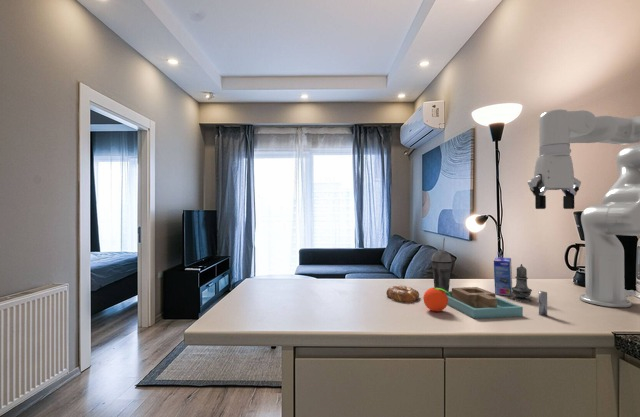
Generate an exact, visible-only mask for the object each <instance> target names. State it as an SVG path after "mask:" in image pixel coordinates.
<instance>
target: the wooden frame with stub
mask: <svg viewBox="0 0 640 417" xmlns="http://www.w3.org/2000/svg"><path fill="white" fill-rule="evenodd" d="M451 291H452V298H454V299H456V300H458V301H460V302H462V303H465V304H467V305H469V306H471V307H473V308H494V307H497V298H498V297H497V296H496V295H497V294H495V292H492V291H489V290H486V289H484V288H481V287H478V286H472V287H471V286H467V287H452V288H451ZM496 297H497V298H496Z"/></svg>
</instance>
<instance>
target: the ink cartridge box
mask: <svg viewBox="0 0 640 417" xmlns="http://www.w3.org/2000/svg"><path fill="white" fill-rule="evenodd" d="M497 255H498V257H497V256H496V257H495V258H494V260H493V276H494V278H493V279H494V280H493V281H494V293H495V294H496V295H498V296H499V295H500V296H507V297H508V296H509V297H511V296H512V294H513V290H512V289H511V288H512V287H513V274H512V273H513V271H512V270H513V266H512V258H511V257H503V256H502V255H501V253H500V252H499V251H498V252H497Z"/></svg>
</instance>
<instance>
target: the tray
mask: <svg viewBox="0 0 640 417" xmlns="http://www.w3.org/2000/svg"><path fill="white" fill-rule="evenodd" d="M447 292H448V293H449V294H450V295H449V294H448V293H447ZM447 292H445V293H446V295H447V297H448V304H447V306H449V307H451V308H453V309H454V310H456V311H458V312H459V313H462V314H464V315H466V316H468V317H470V318H472V319H474V320H478V319H479V320H480V319H493V318H494V319H495V318H496V319H497V318H509V317H510V318H511V317H512V316H515V317H524V315H523V314H524V313H523V310H524V308H523V306H520V305H518V304H515V303H514V302H510V301H507V300H505V299H502V298H499V297H497V296H496V298H497V307H494V308H473V307H471V306H469V305H467V304H465V303H462V302H460V301H458V300H456V299H454V298H452V290H451V291H450V290H449V291H447ZM450 296H451V297H450ZM512 318H513V317H512Z"/></svg>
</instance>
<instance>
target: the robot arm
mask: <svg viewBox="0 0 640 417" xmlns="http://www.w3.org/2000/svg"><path fill="white" fill-rule="evenodd" d="M538 125H539V127H538V129H539V130H538V132H539V134H538V135H539V136H538V137H539V139H538V140H539V141H538V142H539V148H538V150H539V153H538V154H539V157H536V162H535V166H534V172H533V173H534V174H533V177H532V178H531V179H529V180H527V185H528V187H529V190H530V192H532V196H534V199H535V202H534V204H535V209H536V210H546V208H547V202H546V201H547V199H546V198H547V197H546V195H545V194H546V192H547V191H558V190H561V191H562V194H564V195H562V196H563V197H562V198H563V199H562V202H563V203H562V204H563V205H562V207H563V208H562V209H564V210H574V209H575V196H577V193H578V192H579V190H580V186H581V184H582V181H581V180H579V179H578V178H576V177H575V173H574V172H575V171H574V164H573V160H572V156H571V153H572V149H571V144H595V143H602V144H610V145H619V146H621V145H622V146H624V145H629V146H626V147H624V148H623V149H621V150H620V151H619V152H618V153H617V156H616V164H617V165H616V166H617V172H618V179H617V180H616V181H615V182H614V184H613V185H612V186H611V187H610V188H609V190H607V192H606V193H605V195H604V196H603V197H602V204H594V205H591V206H588V207H586V208H584V210H583V211H582V212H581V215H580V222H581V226H582V230H583V235H584V249H585V250H584V251H585V252H584V253H585V255H584V258H585V259H584V264H585V265H584V266H585V268H584V269H585V273H584V274H585V276H584V277H585V278H584V279H585V282H584V284H585V293H581V294H579V299H580V301H582V302H585V303H589V304H592V305H597V306H602V307H610V308H629V307H631V306H632V302H631V301H630V300H628V299H627V298H628V297H636V295H637V293H636V291H635V290H633V289H630V290H627V289H625V249H624V246H623V244H622V242H621V241H620V240H619V238H618V237H617V236H631V237H634V236H635V237H636V236H638V237H639V236H640V144H637V143H640V115H639V116H634V117H626V118H625V117H619V116H612V115H598V116H596V115H595V114H594V113H593V112H591V111H589V110H583V109H582V110H567V109H551V110H548V111H545V112H543V113H541V115H540V116H539V120H538ZM631 144H634V145H631Z"/></svg>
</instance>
